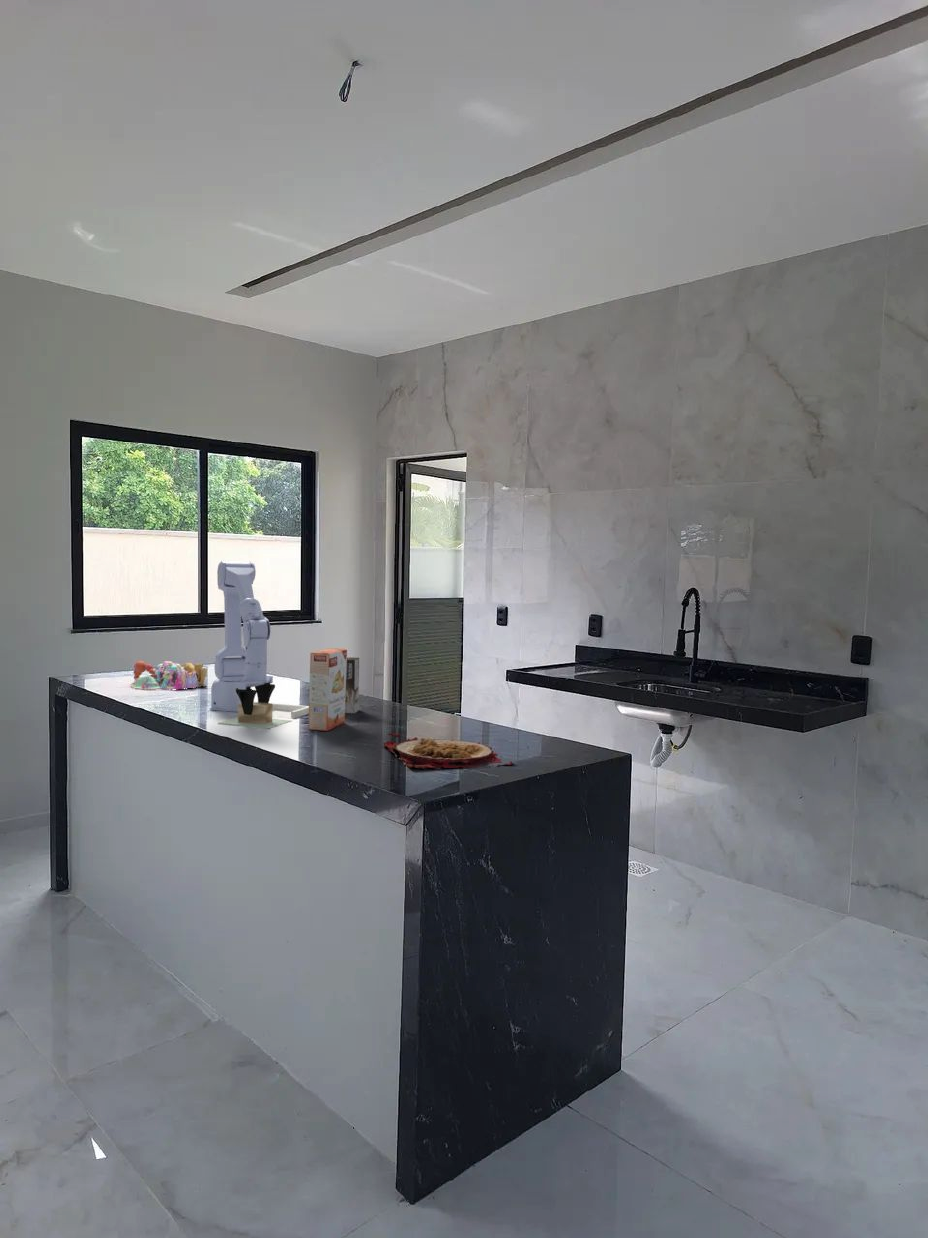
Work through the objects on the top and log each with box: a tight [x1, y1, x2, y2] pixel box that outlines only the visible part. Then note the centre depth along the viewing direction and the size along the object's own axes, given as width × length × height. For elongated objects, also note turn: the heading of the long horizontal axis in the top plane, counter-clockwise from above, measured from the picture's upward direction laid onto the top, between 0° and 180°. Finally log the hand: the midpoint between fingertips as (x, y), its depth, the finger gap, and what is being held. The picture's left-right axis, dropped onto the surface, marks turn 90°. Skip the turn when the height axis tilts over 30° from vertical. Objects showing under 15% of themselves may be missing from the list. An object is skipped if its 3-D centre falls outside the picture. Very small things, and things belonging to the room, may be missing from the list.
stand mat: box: [217, 716, 293, 730], centre depth 241 cm, size 16×12×1 cm
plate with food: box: [381, 732, 515, 770], centre depth 207 cm, size 25×26×4 cm
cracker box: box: [307, 648, 348, 732], centre depth 238 cm, size 14×6×21 cm, turn 168°
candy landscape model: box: [129, 660, 208, 691], centre depth 303 cm, size 25×24×9 cm
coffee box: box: [345, 656, 360, 714], centre depth 262 cm, size 9×6×16 cm
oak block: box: [237, 701, 273, 724], centre depth 241 cm, size 4×8×5 cm, turn 71°
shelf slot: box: [271, 702, 309, 720], centre depth 255 cm, size 13×11×2 cm
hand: (255, 712), depth 241 cm, fingers open, 7 cm apart
